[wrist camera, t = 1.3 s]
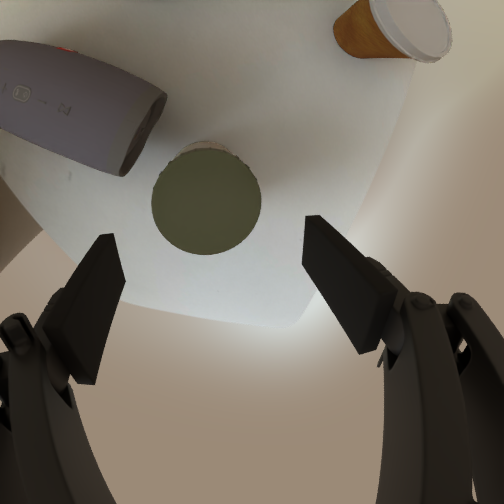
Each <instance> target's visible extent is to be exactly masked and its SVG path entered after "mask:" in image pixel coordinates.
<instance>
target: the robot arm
mask: <svg viewBox="0 0 504 504" xmlns="http://www.w3.org/2000/svg"><path fill="white" fill-rule="evenodd" d="M302 265H303V267H304V268H305V270H306V272H307V273H308V275H309V276H310V278H311V279H312V281H313V282H314V284H315V285H316V287H317V288H318V290H319V291H320V293H321V294H322V296H323V297H324V299H325V301H326V302H327V304H328V305H329V307H330V309H331V310H332V312H333V313H334V315H335V316H336V318H337V320H338V321H339V323H340V324H341V326H342V328H343V329H344V331H345V332H346V334H347V336H348V337H349V339H350V340H351V342H352V344H353V346H354V347H355V349H356V350H357V352H358V354H359V355H360V354H364V353H367V352H370V351H374V350H376V349H377V346H378V344H379V342H380V339H382V340H383V342H384V343H385V344H386V346H385V349H384V350H383V353H382V355H381V357H380V359H379V361H378V364H377V367H380V365H381V363H382V361H383V365H384V367H383V368H384V431H383V448H382V460H381V470H380V478H379V487H378V493H377V499H376V504H504V338H503V337H502V335H501V334H500V332H499V331H498V330H497V328H496V327H495V325H494V324H493V323H492V321H491V320H490V318H489V317H488V316H487V314H486V313H485V312H484V310H483V309H482V308H481V306H480V305H479V304H478V303H477V301H476V300H475V299H474V298H472V297H471V296H470V295H468V294H465V293H454V294H453V295H452V297H451V299H450V302H449V304H436V302H435V300H433V299H432V298H431V297H430V296H428V295H426V294H424V293H420V292H410V291H409V290H408V289H407V288H406V287H405V286H404V285H403V284H402V283H401V282H400V281H399V280H397V278H395V277H394V276H392V274H391V273H390V272H389V271H388V270H386V268H385V267H384V266H383V265H382V264H381V263H380V262H378V261H376V260H374V259H373V258H371V257H365V256H364V255H363V254H361V253H360V252H359V251H358V250H357V249H356V248H355V247H354V246H353V245H352V244H351V243H350V242H349V241H348V240H347V239H346V238H344V237H343V236H342V235H341V234H340V233H339V232H338V231H337V230H336V229H335V228H333V227H332V226H331V225H330V224H329V223H328V222H327V221H326V220H325V219H323V218H322V217H321V216H320V215H312V216H305V230H304V243H303V255H302ZM125 282H126V280H125V277H124V273H123V270H122V266H121V262H120V258H119V254H118V250H117V246H116V242H115V237H114V233H110V234H102V235H99V237H98V238H97V239H96V241H95V242H94V244H93V245H92V246H91V248H90V249H89V251H88V252H87V253H86V255H85V256H84V258H83V259H82V261H81V262H80V264H79V265H78V267H77V268H76V270H75V271H74V273H73V274H72V276H71V278H70V279H69V281H68V282H67V284H66V285H65V287H64V288H60V289H59V290H58V291H57V292H56V293H55V294H53V295H52V297H51V299H50V300H49V302H48V305H46V307H45V309H44V312H42V314H41V316H40V317H39V319H38V321H37V323H36V324H35V326H34V328H33V327H32V325H31V324H30V322H29V320H28V318H27V316H26V315H25V314H23V313H16V314H12V315H10V316H9V317H7V318H6V319H5V320H4V321H3V322H2V323H1V324H0V338H1V339H2V341H3V342H4V344H5V346H6V347H7V348H8V350H9V351H7V352H3V353H0V400H1V401H2V405H1V407H0V504H116V502H115V500H114V498H113V497H112V494H111V492H110V491H109V489H108V486H107V484H106V482H105V480H104V478H103V476H102V474H101V472H100V469H99V467H98V465H97V462H96V460H95V457H94V455H93V452H92V450H91V447H90V445H89V442H88V439H87V436H86V433H85V431H84V428H83V425H82V422H81V418H80V415H79V412H78V408H77V405H76V401H75V397H74V393H73V390H72V388H71V386H70V384H69V383H68V380H69V376H70V374H71V375H72V377H73V378H74V379H75V381H76V382H77V384H87V385H95V383H96V378H97V374H98V370H99V366H100V362H101V358H102V354H103V351H104V347H105V344H106V340H107V337H108V333H109V330H110V327H111V323H112V320H113V317H114V314H115V311H116V308H117V305H118V302H119V299H120V296H121V293H122V290H123V288H124V285H125ZM463 339H464V340H465V341H466V343H467V346H466V348H465V349H464V351H463V352H461V351H460V350H459V346H460V344H461V343H462V341H463ZM472 478H473V482H474V486H475V492H476V496H477V502H475V501H474V499H473V496H472Z"/></svg>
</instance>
